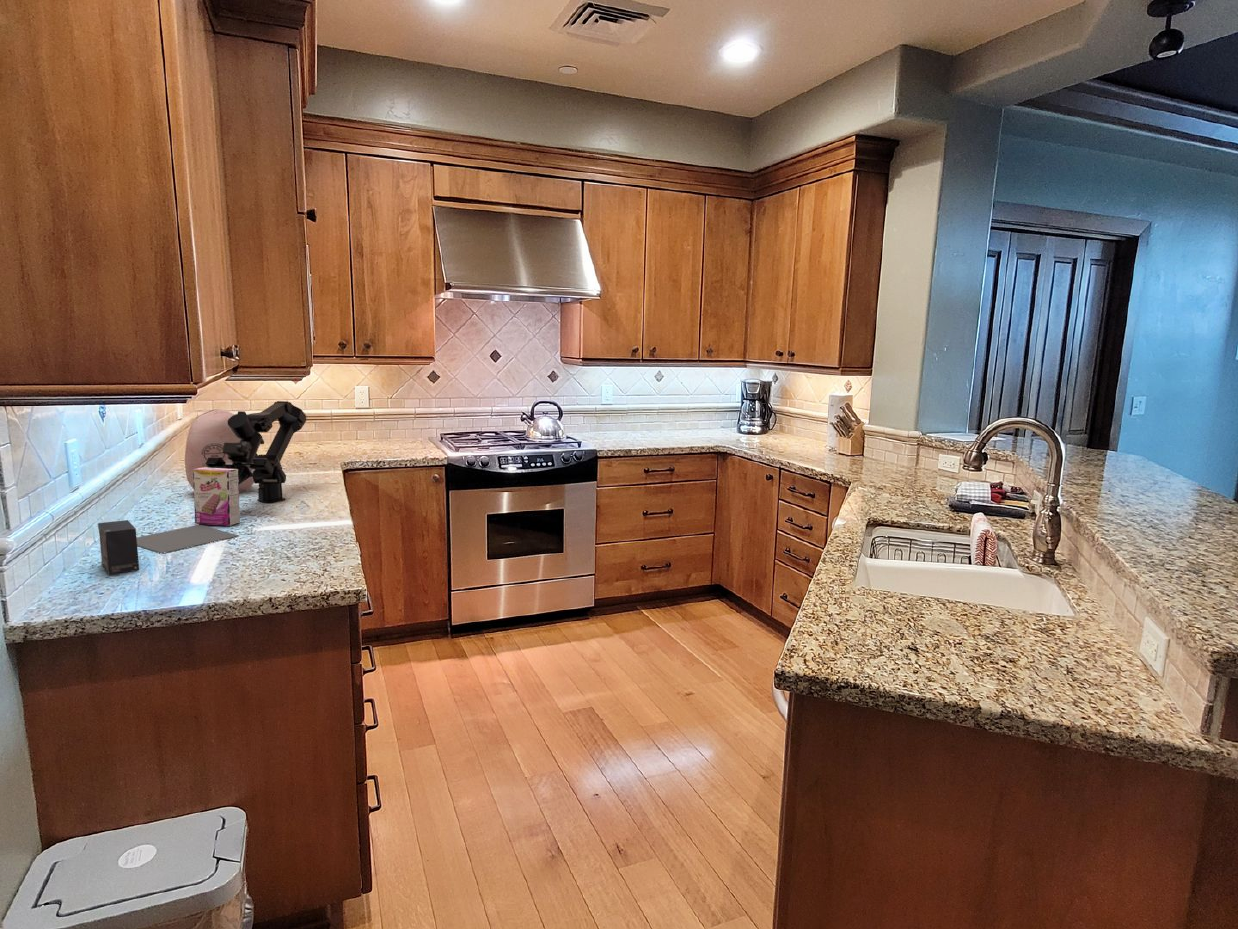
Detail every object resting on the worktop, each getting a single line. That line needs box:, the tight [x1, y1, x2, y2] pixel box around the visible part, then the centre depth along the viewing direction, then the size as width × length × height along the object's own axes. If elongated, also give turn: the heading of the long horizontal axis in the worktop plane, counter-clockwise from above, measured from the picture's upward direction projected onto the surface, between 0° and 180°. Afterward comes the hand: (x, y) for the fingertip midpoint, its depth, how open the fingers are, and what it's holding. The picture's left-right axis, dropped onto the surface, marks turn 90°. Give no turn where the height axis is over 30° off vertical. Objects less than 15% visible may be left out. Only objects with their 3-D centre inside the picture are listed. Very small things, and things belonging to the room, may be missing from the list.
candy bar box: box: [193, 467, 241, 527], centre depth 205 cm, size 11×5×16 cm, turn 84°
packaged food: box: [184, 408, 255, 492], centre depth 243 cm, size 22×20×30 cm
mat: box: [136, 524, 240, 554], centre depth 191 cm, size 20×20×1 cm
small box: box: [97, 519, 140, 576], centre depth 166 cm, size 11×6×10 cm, turn 43°
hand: (230, 489), depth 212 cm, fingers closed
